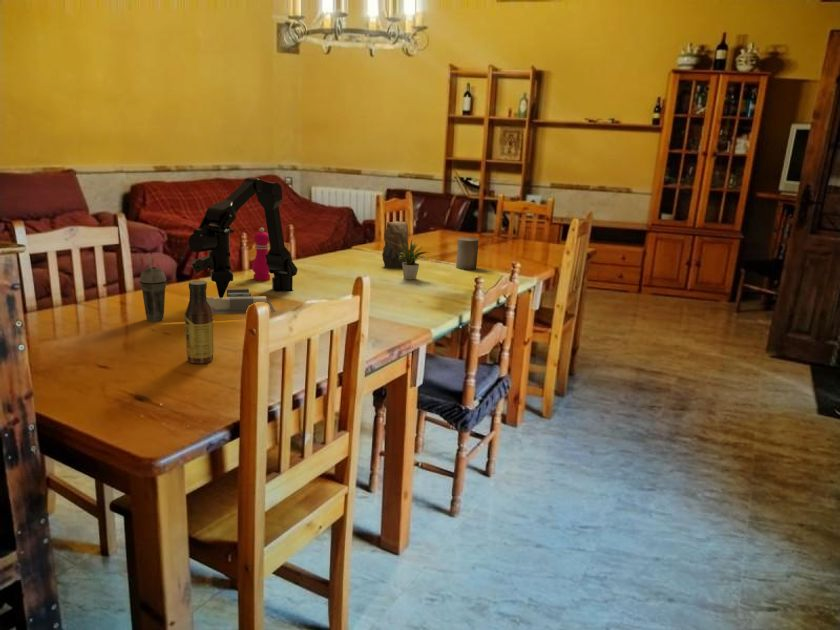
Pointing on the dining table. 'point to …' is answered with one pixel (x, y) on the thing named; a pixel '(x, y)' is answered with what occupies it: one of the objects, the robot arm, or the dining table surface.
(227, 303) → the light grey bar
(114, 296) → the dining table surface
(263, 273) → the pepper mill
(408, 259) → the house plant
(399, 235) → the rough stone block
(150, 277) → the beverage cup
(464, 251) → the pillar candle
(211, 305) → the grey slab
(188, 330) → the sauce bottle
